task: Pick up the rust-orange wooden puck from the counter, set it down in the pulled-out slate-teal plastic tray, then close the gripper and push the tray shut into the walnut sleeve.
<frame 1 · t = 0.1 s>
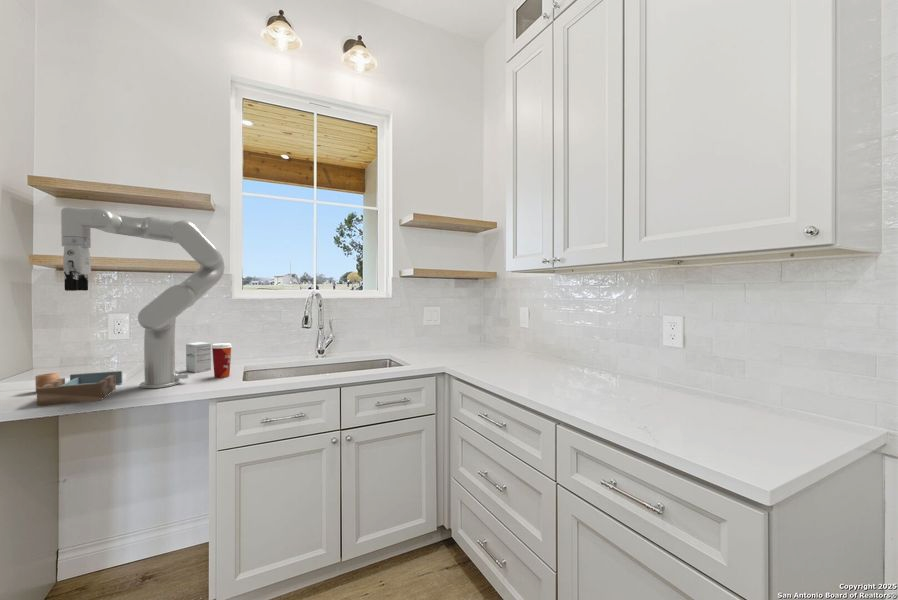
hand: (76, 290, 139), 37 cm above the table, tool pointing down, fingers open, 9 cm apart
tray: (90, 383, 142), point 3 cm above the table, slide at 8.0 cm
supplement box: (198, 370, 178), on the table
puck: (47, 391, 140), on the table
paper cup: (222, 376, 166), on the table
housing: (80, 396, 134), on the table
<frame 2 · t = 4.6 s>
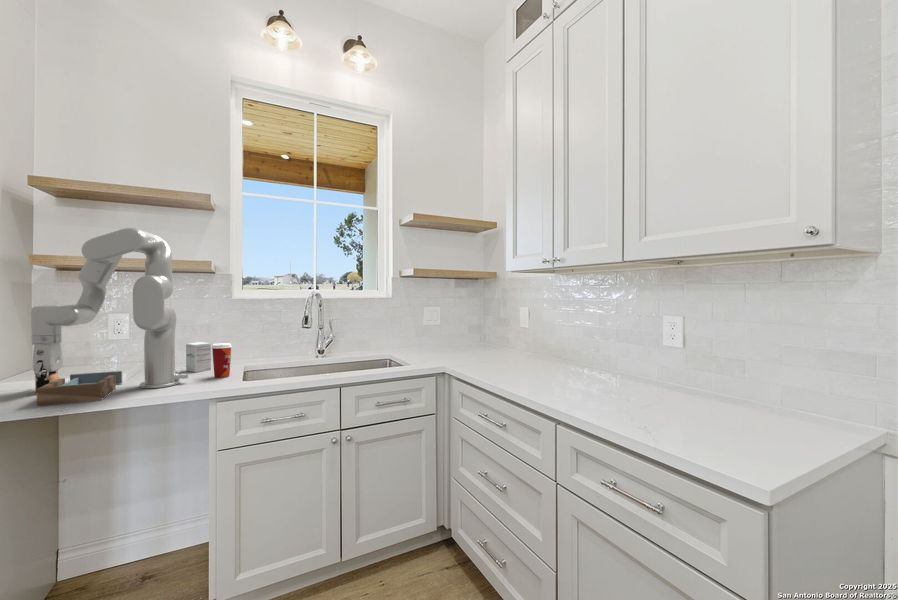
hand: (47, 388, 140), 1 cm above the table, tool pointing down, fingers closed on puck, 6 cm apart
puck: (47, 391, 140), on the table, touching gripper
everything else where it was.
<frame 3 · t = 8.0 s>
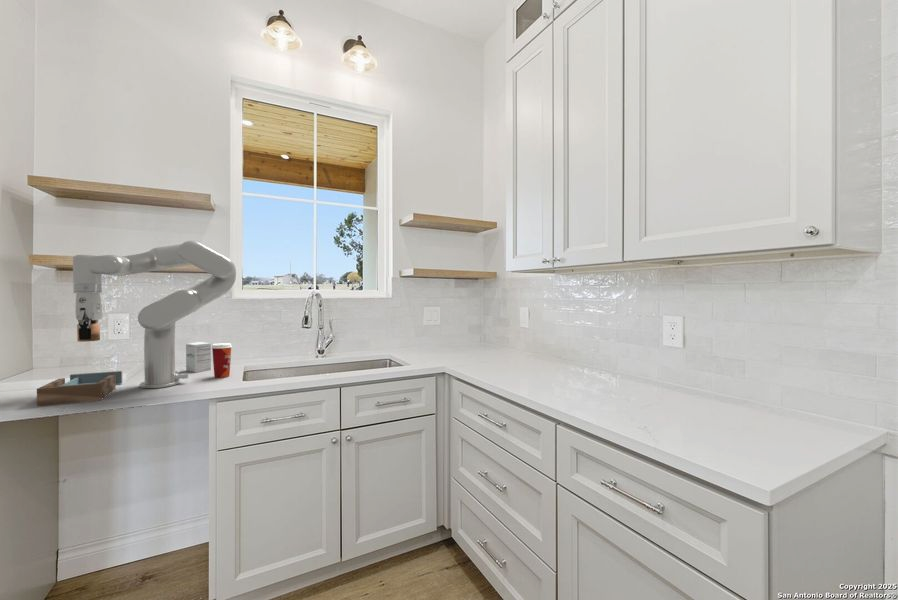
hand: (88, 338, 141), 19 cm above the table, tool pointing down, fingers closed on puck, 6 cm apart
puck: (88, 340, 141), point 18 cm above the table, touching gripper
everything else where it was.
when the fingers open (3 cm above the table, at t = 11.4 s): puck drops 2 cm, resting on tray.
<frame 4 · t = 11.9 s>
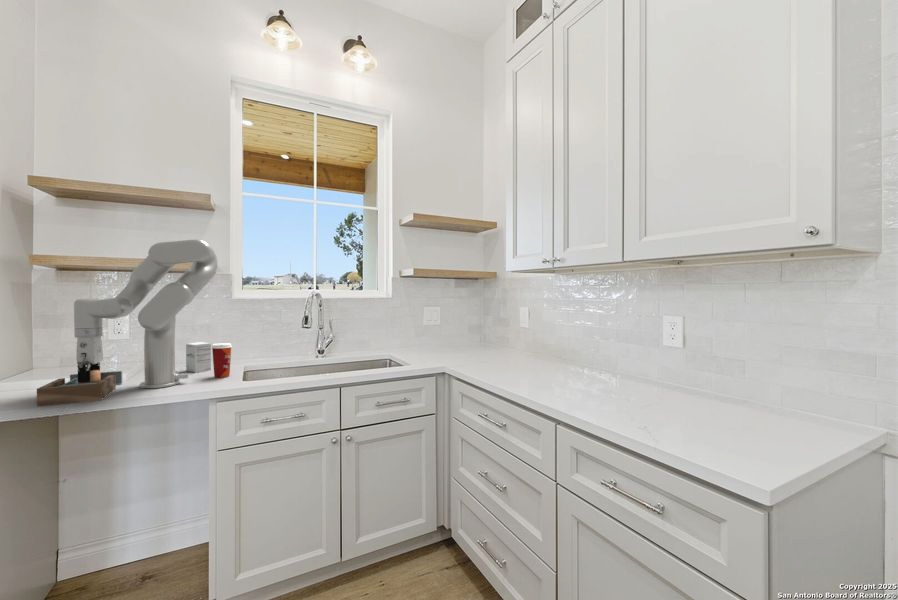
hand: (89, 379, 141), 4 cm above the table, tool pointing down, fingers open, 9 cm apart
tray: (90, 383, 142), point 3 cm above the table, slide at 8.0 cm, touching puck
puck: (89, 388, 141), point 1 cm above the table, touching tray
everything else where it was.
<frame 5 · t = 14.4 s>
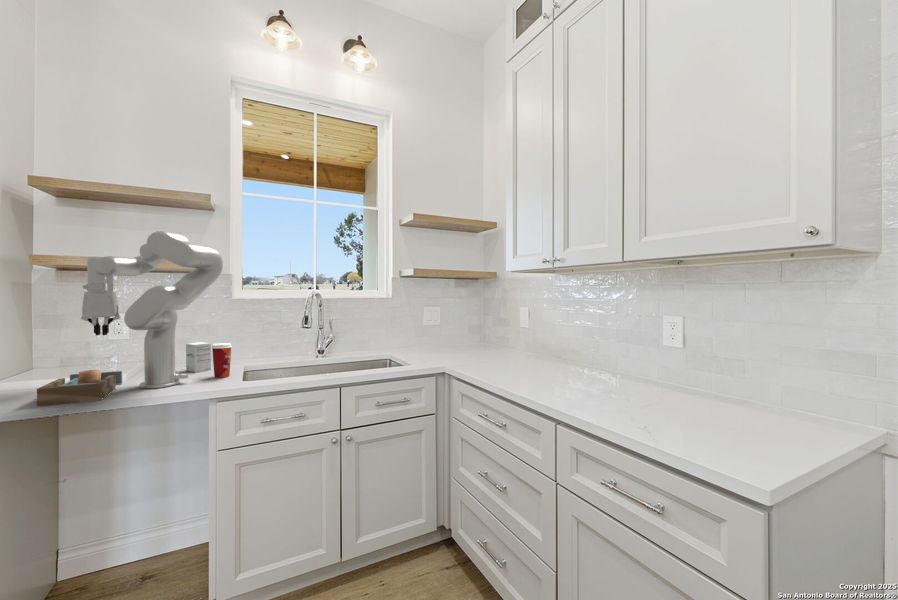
hand: (101, 334, 152), 19 cm above the table, tool pointing down, fingers closed
nothing on the table moved.
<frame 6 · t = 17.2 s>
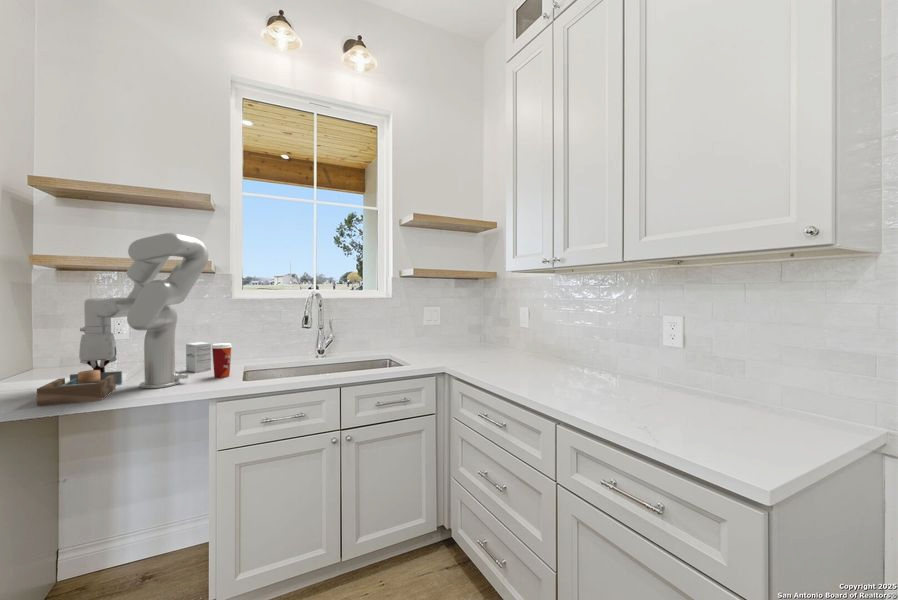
hand: (99, 377, 150), 3 cm above the table, tool pointing down, fingers closed
tray: (89, 383, 142), point 3 cm above the table, slide at 7.8 cm, touching gripper, puck
everything else where it was.
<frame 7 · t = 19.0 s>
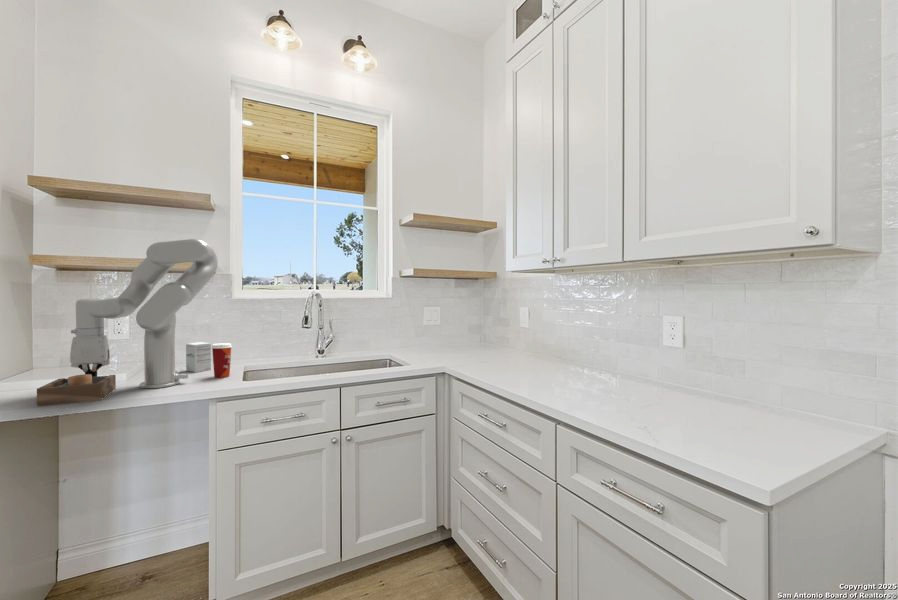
hand: (91, 381, 143), 3 cm above the table, tool pointing down, fingers closed
tray: (81, 388, 135), point 3 cm above the table, slide at -0.2 cm, touching gripper, puck
puck: (80, 393, 134), point 1 cm above the table, touching tray
everything else where it was.
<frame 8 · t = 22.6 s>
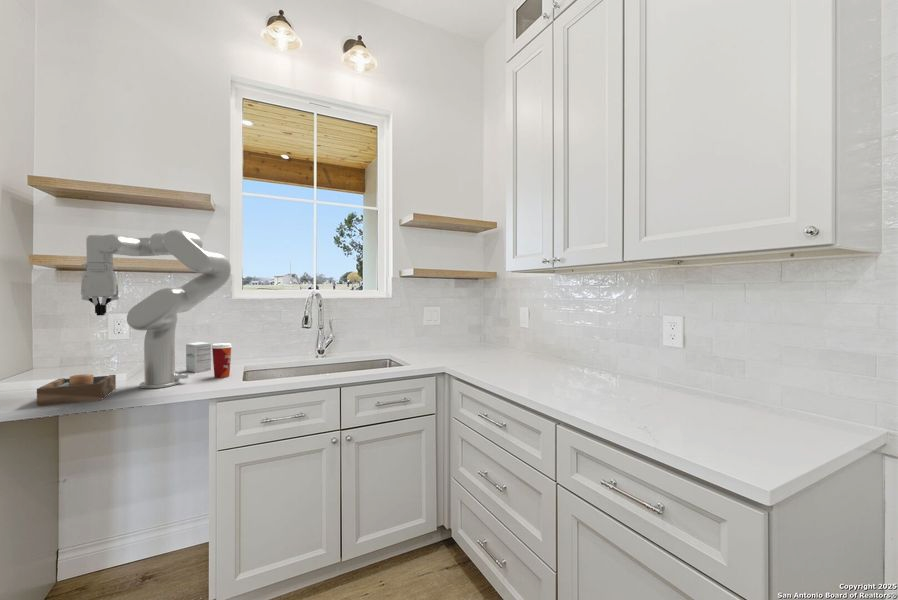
hand: (100, 315, 149), 27 cm above the table, tool pointing down, fingers closed
tray: (81, 388, 135), point 3 cm above the table, slide at 0.0 cm, touching puck
everything else where it was.
at the end: tray slide at 0.0 cm; puck inside the target area on the housing (0.1 cm from its centre), point 1.0 cm above the housing's base; puck tilted 2° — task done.
